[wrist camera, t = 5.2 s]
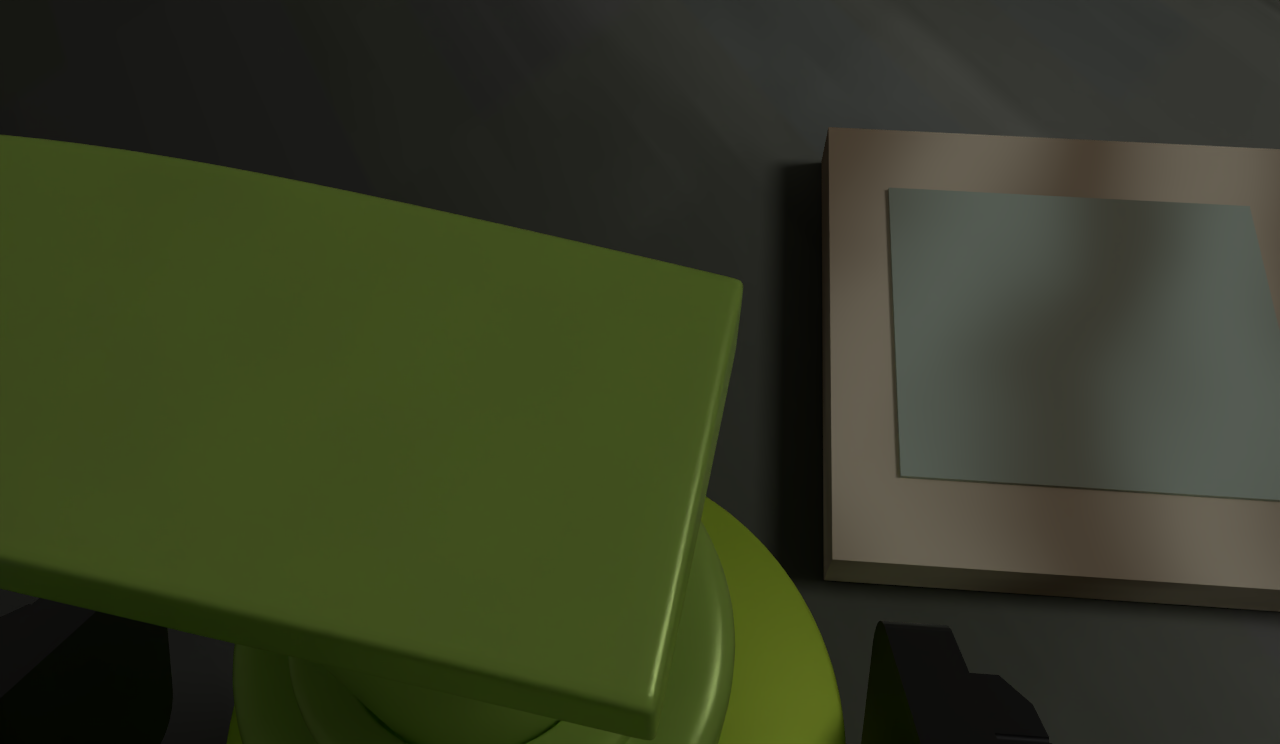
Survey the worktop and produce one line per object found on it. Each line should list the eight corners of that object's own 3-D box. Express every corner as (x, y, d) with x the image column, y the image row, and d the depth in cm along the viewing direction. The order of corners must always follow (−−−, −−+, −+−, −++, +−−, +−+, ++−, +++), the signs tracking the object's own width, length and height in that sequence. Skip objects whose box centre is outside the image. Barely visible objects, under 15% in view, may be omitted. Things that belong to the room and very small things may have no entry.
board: (1265, 184, 30) (1293, 147, 28) (1374, 618, 24) (1416, 597, 23) (821, 161, 30) (829, 124, 29) (823, 580, 24) (833, 557, 23)
